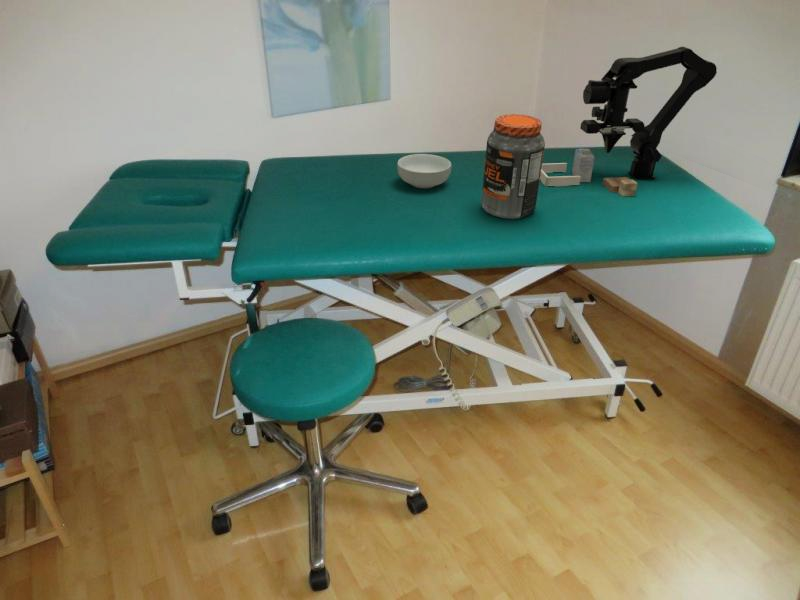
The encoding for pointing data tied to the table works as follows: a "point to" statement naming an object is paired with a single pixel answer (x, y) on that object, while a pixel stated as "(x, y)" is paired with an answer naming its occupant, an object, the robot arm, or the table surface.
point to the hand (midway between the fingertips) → (607, 152)
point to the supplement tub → (513, 166)
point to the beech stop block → (627, 188)
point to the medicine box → (583, 164)
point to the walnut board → (613, 183)
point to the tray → (559, 179)
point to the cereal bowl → (424, 170)
